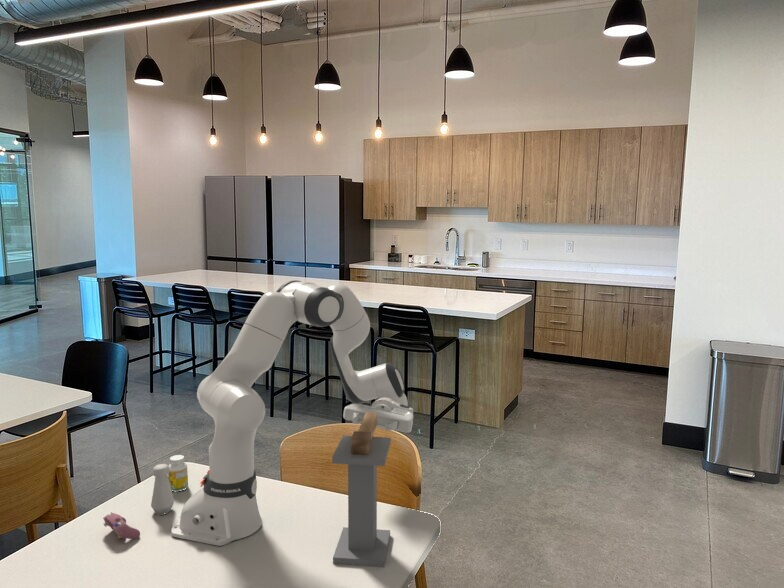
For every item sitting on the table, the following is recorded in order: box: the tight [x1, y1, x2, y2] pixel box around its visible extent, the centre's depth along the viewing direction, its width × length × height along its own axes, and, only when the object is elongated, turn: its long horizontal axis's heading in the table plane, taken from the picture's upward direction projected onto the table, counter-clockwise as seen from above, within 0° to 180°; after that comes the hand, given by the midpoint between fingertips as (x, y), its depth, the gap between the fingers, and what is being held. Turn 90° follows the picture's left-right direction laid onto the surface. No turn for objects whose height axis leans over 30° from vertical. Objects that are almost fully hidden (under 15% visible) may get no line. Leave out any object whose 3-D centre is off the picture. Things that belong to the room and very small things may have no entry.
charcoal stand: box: [331, 435, 392, 568], centre depth 136 cm, size 12×13×26 cm
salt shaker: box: [150, 463, 175, 515], centre depth 154 cm, size 6×6×13 cm
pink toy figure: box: [103, 511, 141, 540], centre depth 143 cm, size 10×5×7 cm, turn 48°
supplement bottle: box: [168, 454, 189, 491], centre depth 167 cm, size 5×5×10 cm
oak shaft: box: [351, 412, 377, 455], centre depth 139 cm, size 4×20×4 cm, turn 174°
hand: (371, 424), depth 156 cm, fingers open, 8 cm apart
